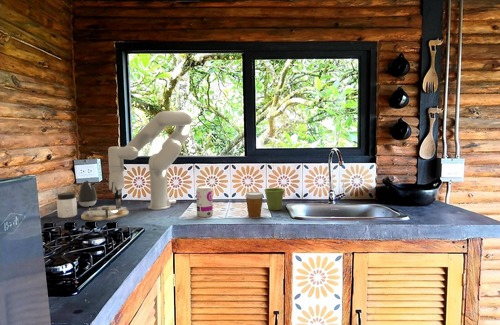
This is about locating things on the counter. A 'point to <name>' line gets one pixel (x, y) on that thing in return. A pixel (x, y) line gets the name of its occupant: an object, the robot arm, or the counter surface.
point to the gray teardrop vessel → (87, 194)
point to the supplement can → (204, 201)
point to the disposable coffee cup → (254, 203)
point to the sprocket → (101, 210)
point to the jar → (66, 205)
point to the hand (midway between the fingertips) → (118, 201)
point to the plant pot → (274, 198)
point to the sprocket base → (100, 218)
